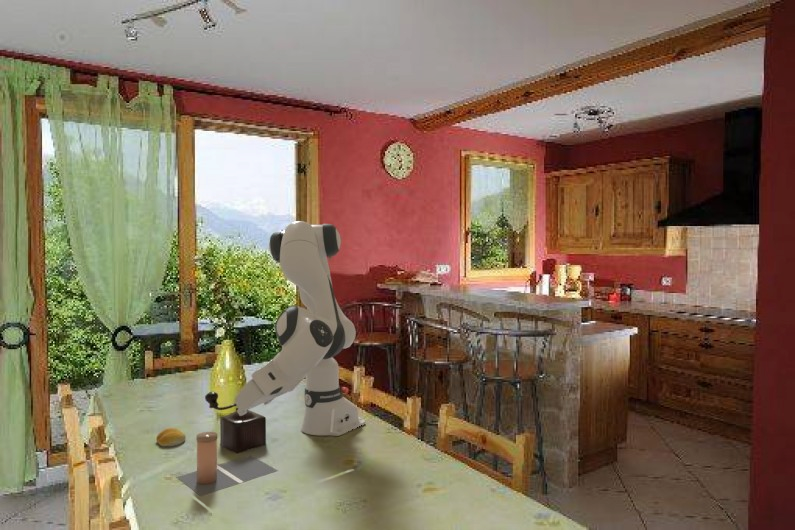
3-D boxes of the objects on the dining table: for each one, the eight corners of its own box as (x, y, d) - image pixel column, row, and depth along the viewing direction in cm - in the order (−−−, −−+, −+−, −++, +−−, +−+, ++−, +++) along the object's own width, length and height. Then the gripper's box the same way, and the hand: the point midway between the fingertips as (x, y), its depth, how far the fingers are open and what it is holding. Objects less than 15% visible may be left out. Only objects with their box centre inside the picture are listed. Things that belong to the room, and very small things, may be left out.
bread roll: (162, 449, 166) (162, 436, 166) (153, 441, 173) (153, 429, 173) (189, 443, 172) (189, 430, 172) (180, 435, 179) (180, 423, 178)
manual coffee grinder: (247, 437, 177) (247, 382, 176) (267, 446, 169) (266, 389, 168) (202, 450, 165) (202, 392, 165) (221, 460, 158) (220, 399, 157)
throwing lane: (250, 457, 160) (250, 455, 160) (278, 472, 150) (278, 470, 150) (176, 479, 145) (176, 476, 145) (200, 498, 134) (200, 495, 134)
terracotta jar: (212, 474, 147) (212, 430, 147) (220, 480, 143) (220, 435, 143) (193, 479, 143) (193, 434, 143) (201, 486, 139) (201, 439, 139)
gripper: (300, 354, 143) (271, 387, 148) (249, 373, 125) (217, 409, 129) (315, 373, 142) (285, 405, 146) (265, 394, 123) (232, 430, 128)
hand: (253, 407), depth 138 cm, fingers open, 8 cm apart
